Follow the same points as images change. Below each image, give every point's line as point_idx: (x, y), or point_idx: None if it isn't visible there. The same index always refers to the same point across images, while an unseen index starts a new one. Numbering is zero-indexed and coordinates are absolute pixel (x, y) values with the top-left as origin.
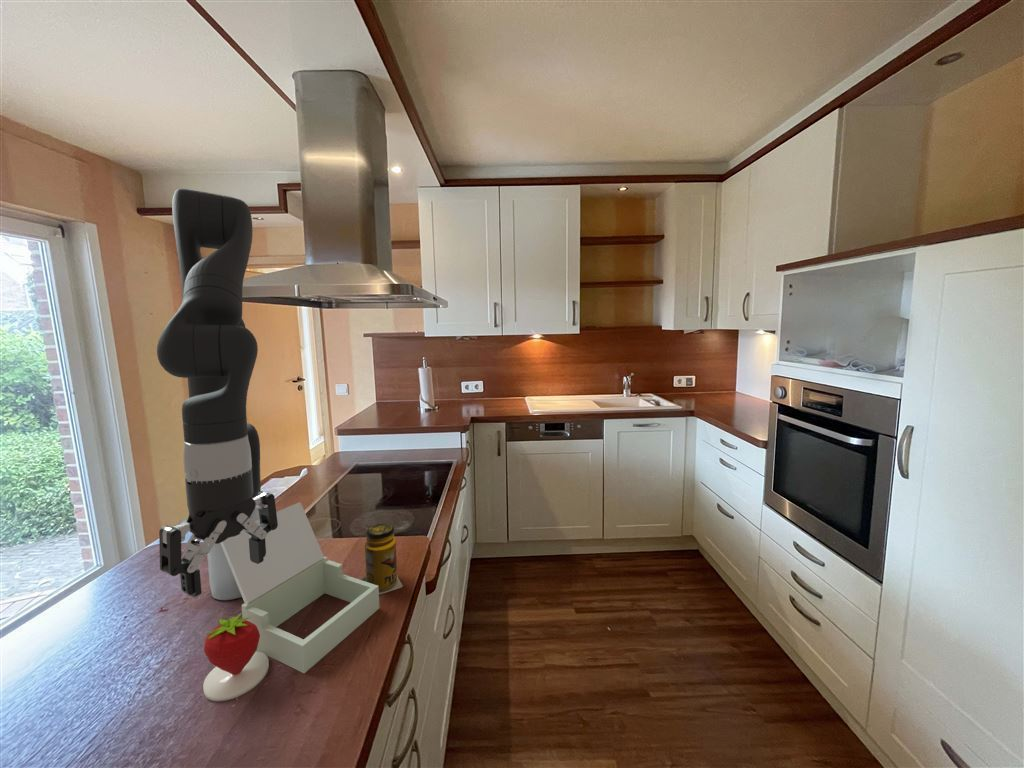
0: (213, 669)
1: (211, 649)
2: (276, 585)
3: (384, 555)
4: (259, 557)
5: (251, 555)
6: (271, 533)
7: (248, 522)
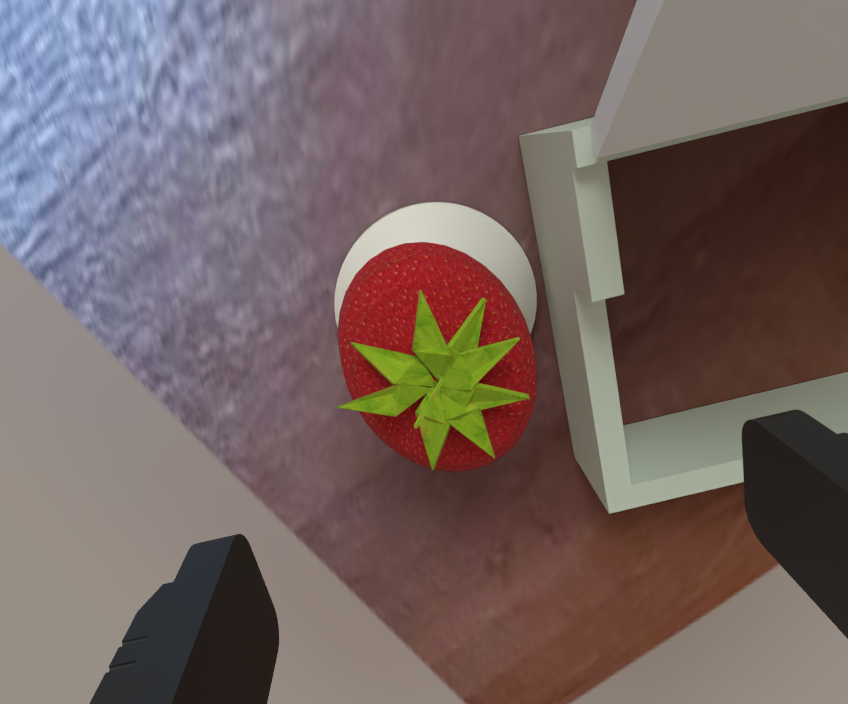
0: (384, 221)
1: (351, 393)
2: (780, 111)
3: None
4: (794, 571)
5: (782, 462)
6: None
7: None
